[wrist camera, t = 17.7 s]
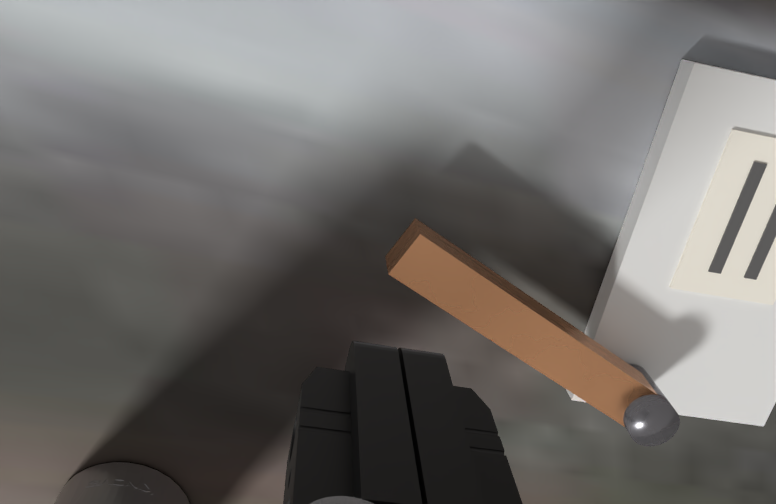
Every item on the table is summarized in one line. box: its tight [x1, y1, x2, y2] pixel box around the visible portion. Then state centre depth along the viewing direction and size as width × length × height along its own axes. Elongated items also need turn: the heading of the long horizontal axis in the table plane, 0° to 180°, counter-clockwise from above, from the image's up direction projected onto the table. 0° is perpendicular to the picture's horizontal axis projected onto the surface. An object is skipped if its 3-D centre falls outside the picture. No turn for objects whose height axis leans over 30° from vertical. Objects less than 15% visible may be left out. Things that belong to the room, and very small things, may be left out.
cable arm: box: [385, 218, 680, 446], centre depth 40 cm, size 20×3×4 cm, turn 53°
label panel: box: [566, 59, 776, 426], centre depth 43 cm, size 22×14×2 cm, turn 168°
